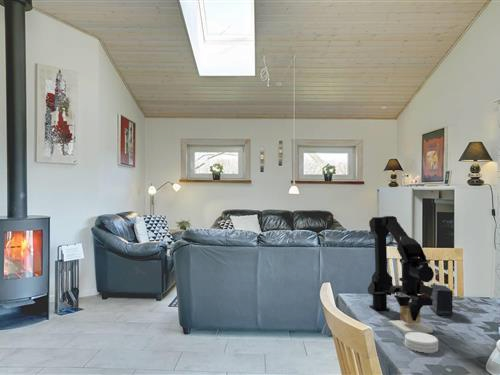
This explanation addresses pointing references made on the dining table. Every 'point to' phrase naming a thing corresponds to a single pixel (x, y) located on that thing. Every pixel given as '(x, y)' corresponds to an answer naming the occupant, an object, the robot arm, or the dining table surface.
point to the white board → (410, 327)
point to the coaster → (421, 342)
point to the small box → (442, 300)
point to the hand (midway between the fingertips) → (409, 318)
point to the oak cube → (407, 315)
